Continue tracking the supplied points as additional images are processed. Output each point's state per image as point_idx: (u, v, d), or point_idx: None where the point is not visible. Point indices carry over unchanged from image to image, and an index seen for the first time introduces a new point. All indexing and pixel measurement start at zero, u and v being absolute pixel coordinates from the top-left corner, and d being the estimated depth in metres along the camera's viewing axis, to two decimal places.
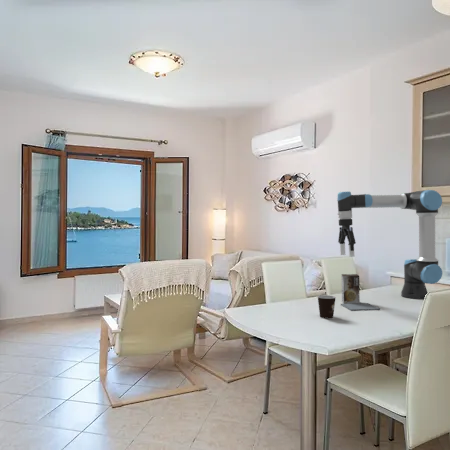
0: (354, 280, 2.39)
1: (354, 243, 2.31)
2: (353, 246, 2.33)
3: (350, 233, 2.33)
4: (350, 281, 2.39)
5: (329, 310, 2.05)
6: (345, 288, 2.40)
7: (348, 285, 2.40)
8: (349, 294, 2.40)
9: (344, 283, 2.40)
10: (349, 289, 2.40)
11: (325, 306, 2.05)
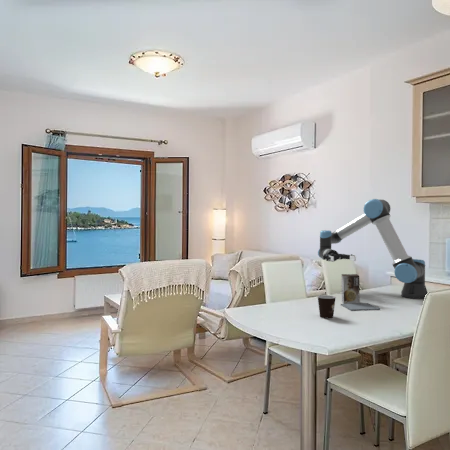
0: (354, 280, 2.39)
1: (323, 256, 2.58)
2: (327, 256, 2.57)
3: None
4: (350, 281, 2.39)
5: (329, 310, 2.05)
6: (345, 288, 2.40)
7: (348, 285, 2.40)
8: (349, 294, 2.40)
9: (344, 283, 2.40)
10: (349, 289, 2.40)
11: (325, 306, 2.05)
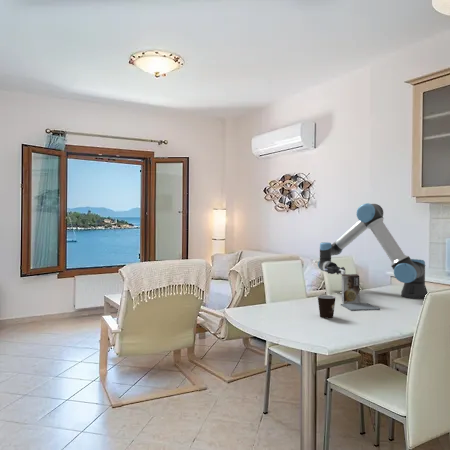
0: (354, 280, 2.39)
1: (334, 270, 2.58)
2: (337, 270, 2.57)
3: (328, 270, 2.63)
4: (350, 281, 2.39)
5: (329, 310, 2.05)
6: (345, 288, 2.40)
7: (348, 285, 2.40)
8: (349, 294, 2.40)
9: (344, 283, 2.40)
10: (349, 289, 2.40)
11: (325, 306, 2.05)
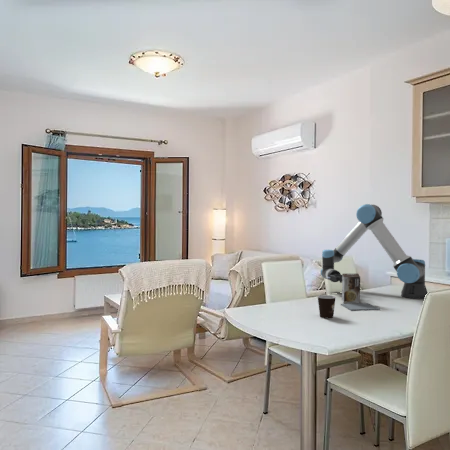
0: (355, 281, 2.37)
1: (337, 278, 2.52)
2: (340, 278, 2.50)
3: (331, 278, 2.57)
4: (351, 282, 2.37)
5: (329, 310, 2.05)
6: (346, 289, 2.38)
7: (349, 286, 2.38)
8: (350, 294, 2.39)
9: (345, 284, 2.38)
10: (349, 290, 2.38)
11: (325, 306, 2.05)
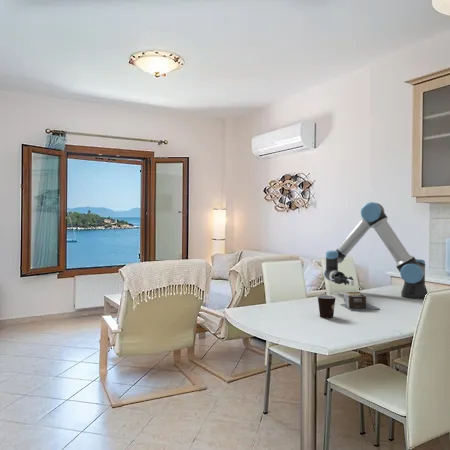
0: None
1: (341, 280, 2.45)
2: (345, 280, 2.43)
3: (335, 280, 2.50)
4: None
5: (329, 310, 2.05)
6: None
7: None
8: None
9: (348, 306, 2.29)
10: None
11: (325, 306, 2.05)
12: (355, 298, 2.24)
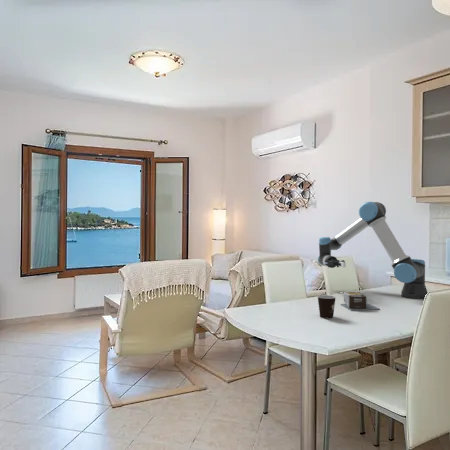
0: None
1: (334, 263, 2.58)
2: (337, 263, 2.56)
3: (328, 264, 2.63)
4: None
5: (329, 310, 2.05)
6: None
7: None
8: None
9: None
10: None
11: (325, 306, 2.05)
12: (355, 298, 2.24)
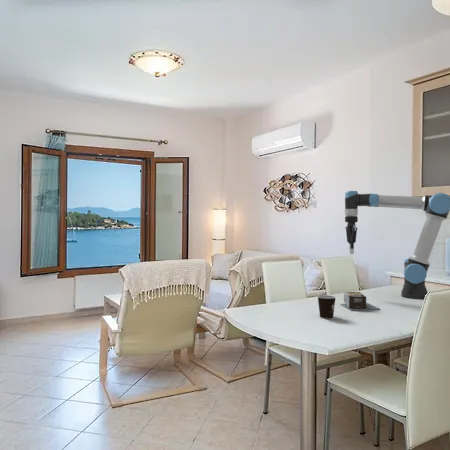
0: None
1: (354, 242, 2.57)
2: (353, 245, 2.59)
3: (353, 233, 2.56)
4: None
5: (329, 310, 2.05)
6: None
7: None
8: None
9: None
10: None
11: (325, 306, 2.05)
12: (355, 298, 2.24)
